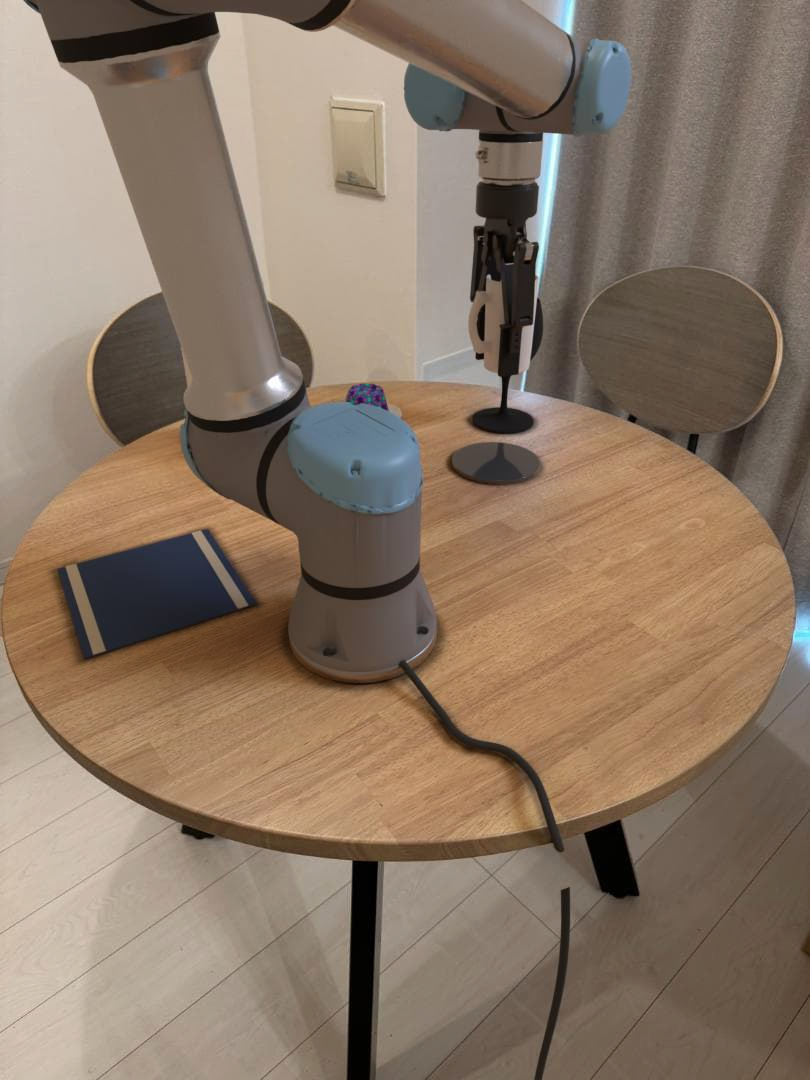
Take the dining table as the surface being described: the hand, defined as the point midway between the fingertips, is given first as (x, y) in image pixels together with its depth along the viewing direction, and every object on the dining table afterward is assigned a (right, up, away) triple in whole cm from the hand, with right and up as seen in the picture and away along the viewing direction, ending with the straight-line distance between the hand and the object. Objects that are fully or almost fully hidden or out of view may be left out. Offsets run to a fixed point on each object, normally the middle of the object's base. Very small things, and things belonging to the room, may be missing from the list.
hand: (496, 366), depth 101 cm
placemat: (-41, -29, -17) cm, 53 cm away
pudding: (-19, -3, +23) cm, 30 cm away
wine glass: (+4, -4, +22) cm, 23 cm away
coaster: (+1, -13, +9) cm, 15 cm away
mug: (0, -1, 0) cm, 1 cm away
